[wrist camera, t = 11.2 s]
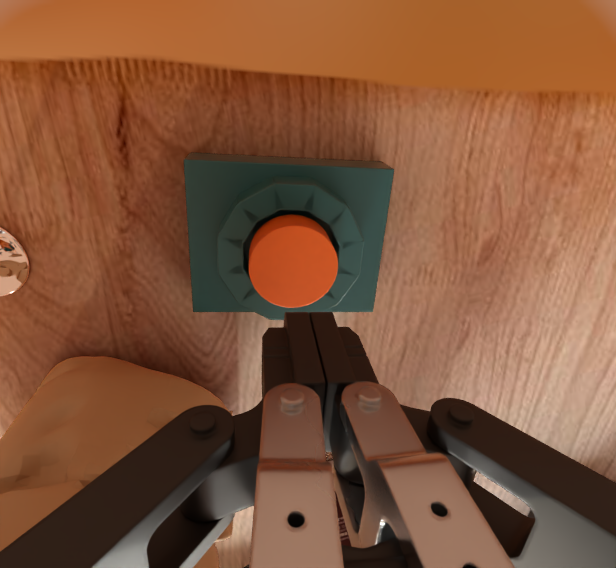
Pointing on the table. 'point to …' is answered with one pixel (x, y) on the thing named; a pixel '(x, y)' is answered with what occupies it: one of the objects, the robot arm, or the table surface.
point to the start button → (292, 261)
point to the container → (85, 435)
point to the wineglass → (12, 264)
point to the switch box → (275, 202)
